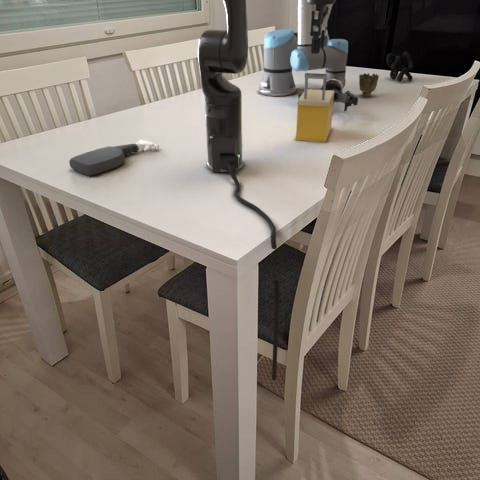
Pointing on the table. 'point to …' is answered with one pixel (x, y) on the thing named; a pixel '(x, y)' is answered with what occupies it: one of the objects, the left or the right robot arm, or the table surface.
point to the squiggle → (399, 66)
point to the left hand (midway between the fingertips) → (317, 50)
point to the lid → (315, 92)
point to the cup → (367, 83)
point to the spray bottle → (106, 157)
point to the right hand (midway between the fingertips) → (324, 105)
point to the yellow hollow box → (314, 122)
